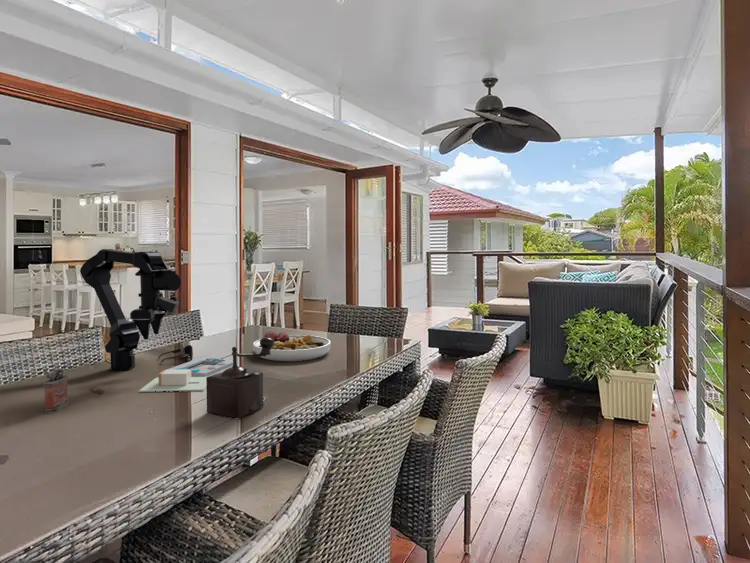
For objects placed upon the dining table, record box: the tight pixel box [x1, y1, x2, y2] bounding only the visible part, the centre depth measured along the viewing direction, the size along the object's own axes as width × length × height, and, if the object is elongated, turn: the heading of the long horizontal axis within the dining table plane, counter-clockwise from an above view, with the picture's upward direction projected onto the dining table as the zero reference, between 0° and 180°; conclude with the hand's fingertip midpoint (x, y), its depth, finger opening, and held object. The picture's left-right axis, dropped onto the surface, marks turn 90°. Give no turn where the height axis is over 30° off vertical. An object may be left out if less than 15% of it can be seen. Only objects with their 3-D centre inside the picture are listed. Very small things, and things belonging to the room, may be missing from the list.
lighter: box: [42, 368, 70, 414], centre depth 126 cm, size 8×3×10 cm, turn 5°
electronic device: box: [166, 357, 233, 377], centre depth 167 cm, size 18×2×15 cm
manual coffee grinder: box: [206, 336, 274, 419], centre depth 127 cm, size 16×11×18 cm
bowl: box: [252, 331, 331, 362], centre depth 191 cm, size 30×30×8 cm
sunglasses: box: [157, 344, 194, 363], centre depth 179 cm, size 10×12×5 cm
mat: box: [138, 376, 208, 393], centre depth 147 cm, size 18×14×1 cm
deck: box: [158, 368, 192, 386], centre depth 147 cm, size 5×8×4 cm, turn 95°
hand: (151, 336), depth 160 cm, fingers open, 9 cm apart
